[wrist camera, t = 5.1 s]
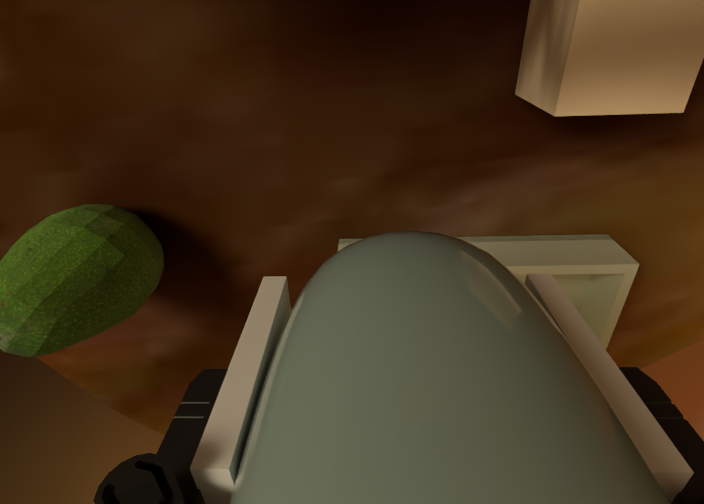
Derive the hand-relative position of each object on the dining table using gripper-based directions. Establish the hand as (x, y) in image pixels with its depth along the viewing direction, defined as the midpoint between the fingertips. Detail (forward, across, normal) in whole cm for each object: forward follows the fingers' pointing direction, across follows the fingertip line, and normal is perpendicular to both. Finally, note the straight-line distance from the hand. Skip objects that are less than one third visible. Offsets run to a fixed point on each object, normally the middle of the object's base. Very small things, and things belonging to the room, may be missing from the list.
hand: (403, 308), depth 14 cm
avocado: (+16, -19, -5) cm, 25 cm away
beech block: (+15, +11, +7) cm, 20 cm away
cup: (+1, 0, 0) cm, 1 cm away
